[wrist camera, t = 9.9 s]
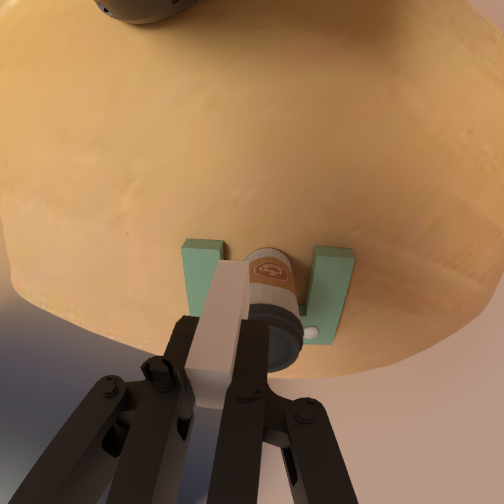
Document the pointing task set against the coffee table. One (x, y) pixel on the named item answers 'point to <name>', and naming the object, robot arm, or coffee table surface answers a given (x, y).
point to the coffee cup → (275, 305)
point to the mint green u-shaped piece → (311, 314)
